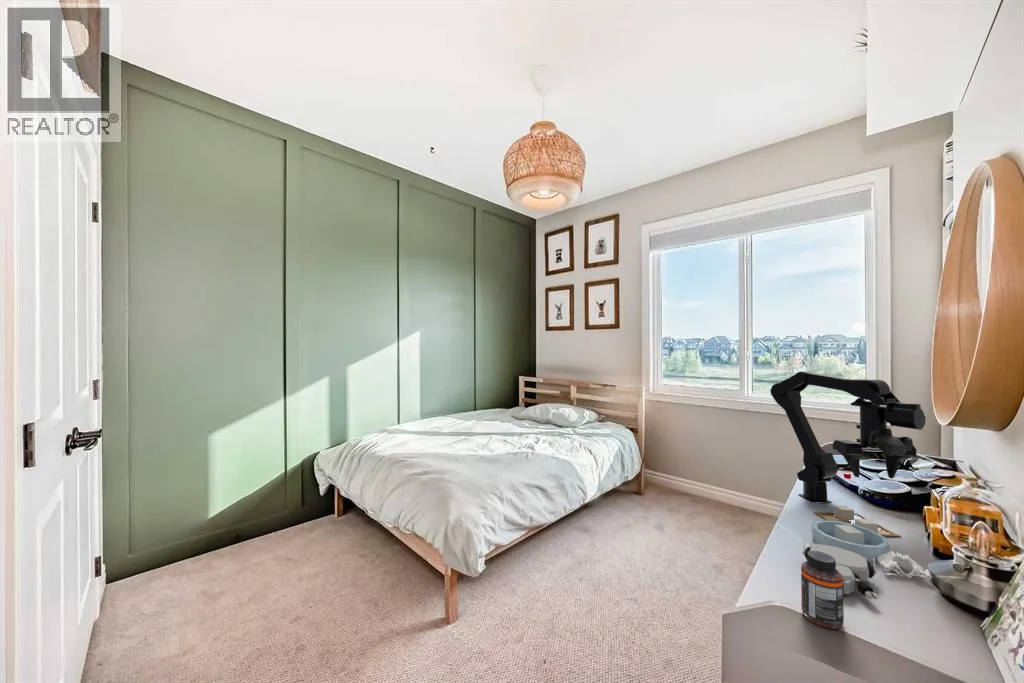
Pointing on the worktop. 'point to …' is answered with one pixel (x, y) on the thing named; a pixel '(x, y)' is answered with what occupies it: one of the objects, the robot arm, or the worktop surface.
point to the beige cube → (849, 534)
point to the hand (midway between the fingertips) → (873, 477)
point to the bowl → (869, 550)
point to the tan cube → (844, 512)
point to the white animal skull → (889, 564)
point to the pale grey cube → (867, 524)
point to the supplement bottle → (822, 590)
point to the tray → (830, 517)
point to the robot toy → (849, 568)
